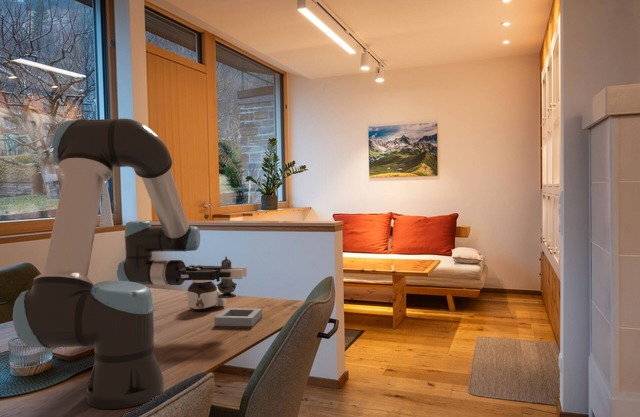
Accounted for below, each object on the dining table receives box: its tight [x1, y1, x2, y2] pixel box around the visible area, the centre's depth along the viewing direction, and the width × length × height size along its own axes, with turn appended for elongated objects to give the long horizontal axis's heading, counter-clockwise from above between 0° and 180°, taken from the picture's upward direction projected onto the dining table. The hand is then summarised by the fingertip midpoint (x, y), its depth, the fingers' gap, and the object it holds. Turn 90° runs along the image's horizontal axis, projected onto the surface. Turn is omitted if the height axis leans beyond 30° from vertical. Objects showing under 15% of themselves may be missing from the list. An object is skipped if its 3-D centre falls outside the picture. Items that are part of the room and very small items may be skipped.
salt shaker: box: [216, 255, 238, 299], centre depth 147 cm, size 6×6×12 cm
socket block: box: [213, 307, 263, 329], centre depth 158 cm, size 12×12×3 cm
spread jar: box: [186, 280, 227, 313], centre depth 177 cm, size 12×11×12 cm
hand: (244, 273), depth 146 cm, fingers closed on salt shaker, 3 cm apart
